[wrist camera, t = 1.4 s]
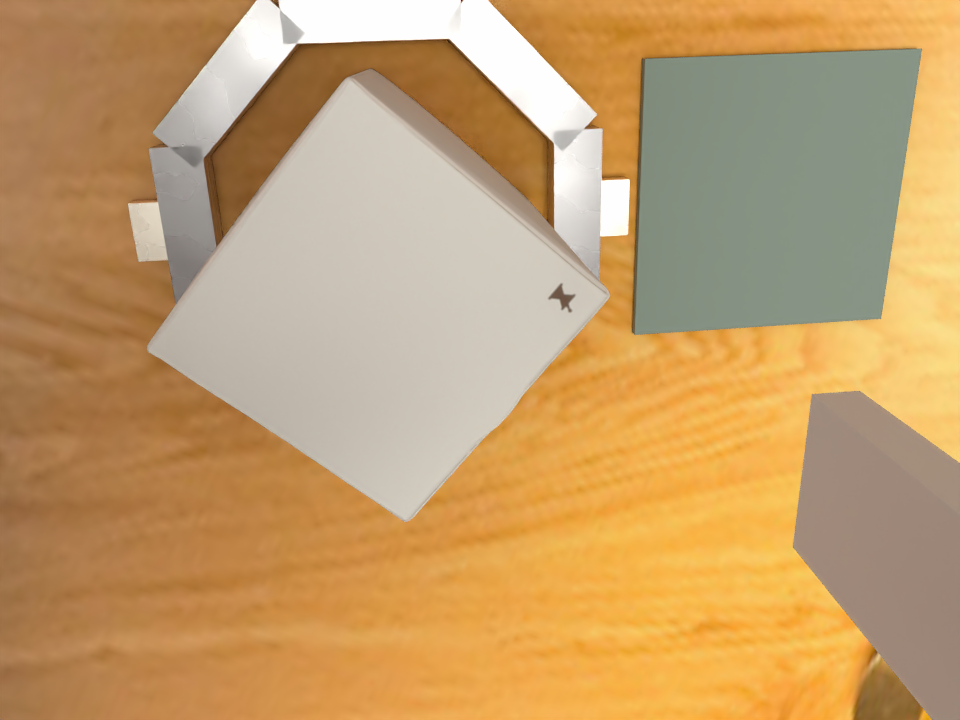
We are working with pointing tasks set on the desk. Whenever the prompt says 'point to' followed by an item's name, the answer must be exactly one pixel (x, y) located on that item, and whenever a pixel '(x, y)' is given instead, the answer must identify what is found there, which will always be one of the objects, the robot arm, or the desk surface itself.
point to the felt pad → (769, 187)
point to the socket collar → (367, 18)
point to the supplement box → (381, 298)
